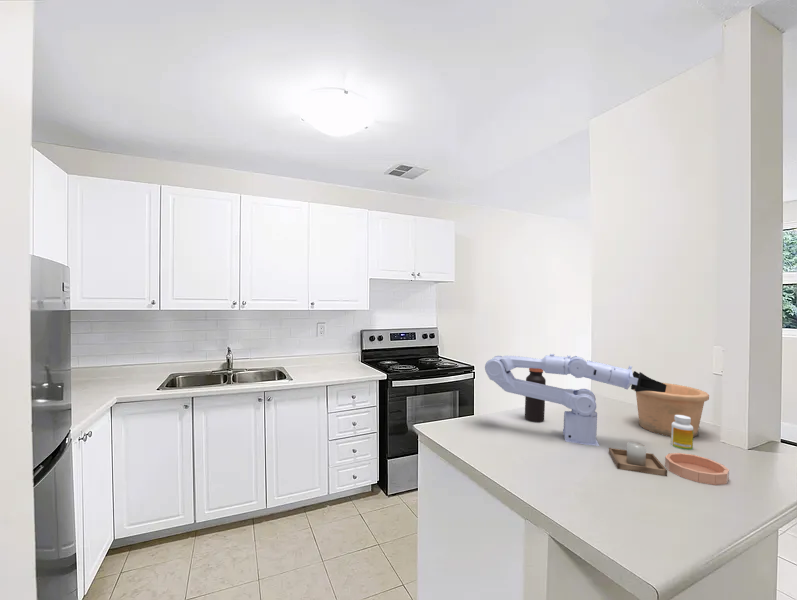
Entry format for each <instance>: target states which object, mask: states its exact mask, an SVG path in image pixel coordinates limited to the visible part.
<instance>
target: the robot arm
mask: <svg viewBox="0 0 797 600" xmlns="http://www.w3.org/2000/svg"><path fill="white" fill-rule="evenodd" d="M516 368H523V369H529V368H538V369H542V370H543V373H546V374H552V375H553V374H554V375H563V376H564V375H565V376H567V375H571V376H572V377H575V378H576V379H582V378H586V379H589V380H592V381H595V382H599V383H603V384H607V385H611V386H615V387H617V388H618V387H619V388H623V389H624V390H629V388H630V389H631V390H633V389H635V391H634V390H633V391H634V392H635V393H636V392H639V391H655V392H665V391H666V386H667V385H665V384H663V383H664V382H660V381H658V380H655V379H653V378H651V377H650V376H647V375H645V373H643V372H641V371H639V372H637V371H636V370H635V371H633V370H632V368H633V366H632V365H628V367H627V368H623V367H620V366H615V365H611V364H608V363H604V362H599V361H598V362H597V361H593V360H585V359H584V358H583V357H580V356H577V355H575V356H571V355H567V356H559V355H555V354H554V353H550V354H549V355H545V356H544V357H542V358H536V357H535V358H534V357H527V356H520V355H518V356H517V355H503V356H502V355H495V356H494V357H492V358H490V359H488V360H487V361H486V363H485V364H484V370H485V373H486V375H487V377H488V378H489V380H490V381H493V382H494V383H495V384H496V385H497V386H498V387H500V388H501V389H502V390H503V391H504V392H507V393H511V394H514V395H520V396H524V397H525V396H527V397H531V398H536V399H540V400H544V401H545V402H549V403H554V404H558V405H561V406H564V407H566V408H567V409H570V410H564V413H563V414H564V415H563V428H562V435H563V438H564V441H565V442H567V443H574V444H581V445H587V446H595V447H600V444H599V441H598V440H597V434H598V433H597V432H598V431H597V430H598V429H597V428H598V412H597V411H596V410H597V402H596V394H595V393H594V392H593V391H592V390H590V389H588V388H580V389H579V388H578V389H574V388H562V387H557V386H553V385H547V384H546V385H544V384H539V383H534V382H529V381H526V379H525V380H524V379H519V378H516V377H515V375H514V374H513V372H512V370H514V369H516Z"/></svg>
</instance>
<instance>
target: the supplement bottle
mask: <svg viewBox="0 0 797 600" xmlns="http://www.w3.org/2000/svg"><path fill="white" fill-rule="evenodd" d="M674 419H675V422H673V423H672V425H671V436H670V446H672V447H674V448H676V449H680V450H684V451H692V450H693V449H694V447H693V444H694V437H693V426H692V425H691V424H690V423H691V418H690V417H688V416H684V415H675V418H674Z"/></svg>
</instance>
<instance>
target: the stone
mask: <svg viewBox="0 0 797 600" xmlns="http://www.w3.org/2000/svg"><path fill="white" fill-rule="evenodd" d="M626 450H627V458H626V462H627V463H628V464H631V465H638V466H644V467H645V466H646V453H647V446H646V445H645V444H643V443H640V442H635V441H628V442H627V443H626Z"/></svg>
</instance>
